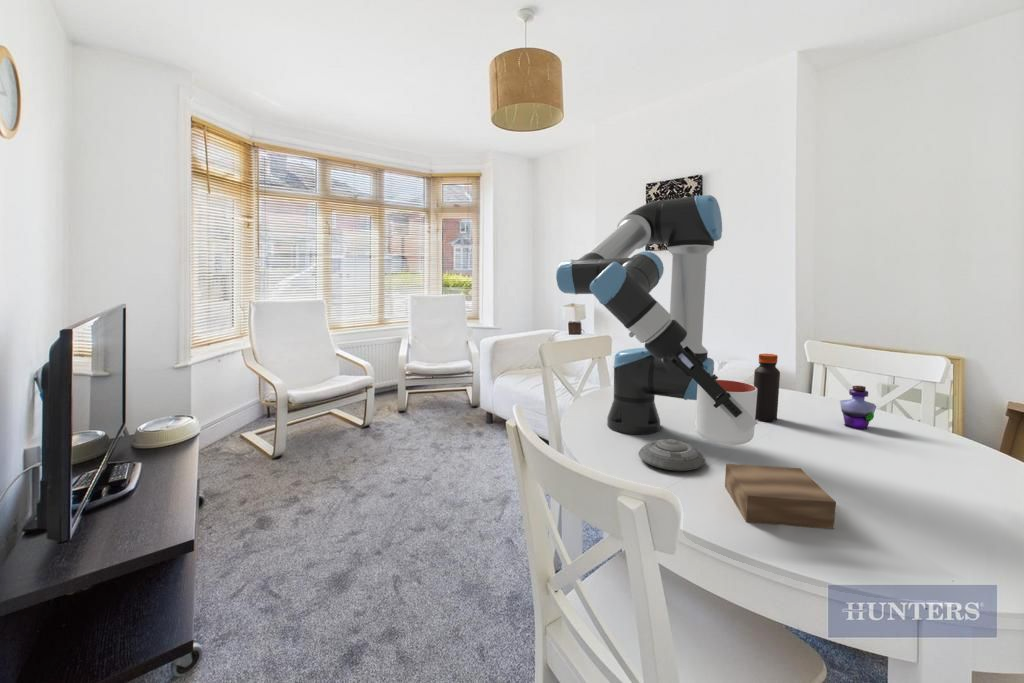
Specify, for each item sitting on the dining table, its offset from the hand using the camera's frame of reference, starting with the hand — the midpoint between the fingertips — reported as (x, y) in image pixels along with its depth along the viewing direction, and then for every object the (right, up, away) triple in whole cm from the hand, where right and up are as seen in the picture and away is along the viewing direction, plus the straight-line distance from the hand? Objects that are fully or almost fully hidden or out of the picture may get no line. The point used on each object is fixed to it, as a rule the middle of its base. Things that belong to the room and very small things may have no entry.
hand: (742, 417), depth 83 cm
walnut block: (+7, -17, +3) cm, 19 cm away
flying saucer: (-5, -15, +24) cm, 29 cm away
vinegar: (+35, -10, +55) cm, 66 cm away
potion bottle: (+57, -11, +46) cm, 74 cm away
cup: (-3, -4, +1) cm, 5 cm away
